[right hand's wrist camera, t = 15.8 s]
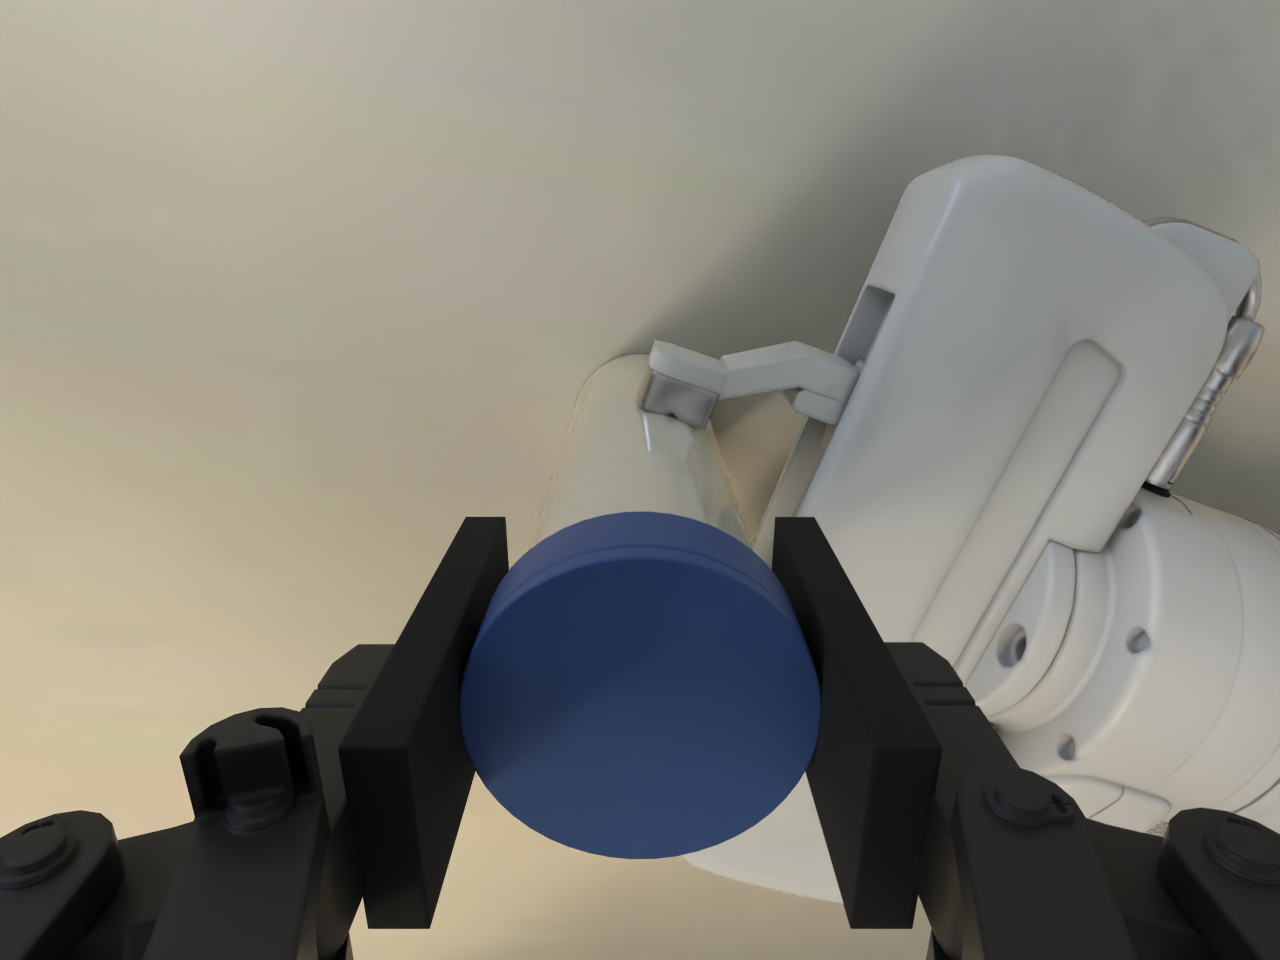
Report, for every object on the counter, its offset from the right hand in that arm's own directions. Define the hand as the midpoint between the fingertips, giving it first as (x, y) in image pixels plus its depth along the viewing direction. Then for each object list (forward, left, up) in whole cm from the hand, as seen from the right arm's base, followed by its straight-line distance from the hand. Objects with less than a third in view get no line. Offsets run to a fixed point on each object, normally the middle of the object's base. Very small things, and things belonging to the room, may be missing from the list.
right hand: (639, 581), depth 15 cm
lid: (0, 0, +4) cm, 4 cm away
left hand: (-1, +1, -5) cm, 5 cm away
